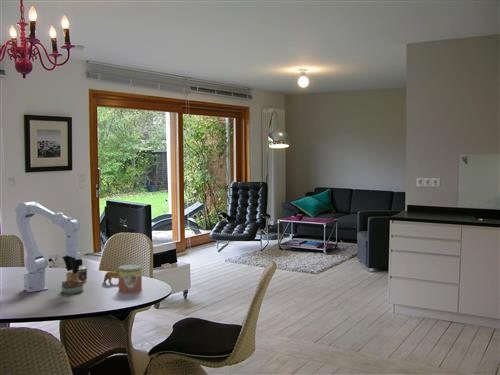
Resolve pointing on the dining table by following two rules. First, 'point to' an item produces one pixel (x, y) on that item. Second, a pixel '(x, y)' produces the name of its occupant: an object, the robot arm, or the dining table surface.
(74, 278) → the block
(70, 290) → the pale green domed part
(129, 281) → the canned food
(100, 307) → the dining table surface
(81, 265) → the medicine bottle
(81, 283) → the brown wooden rectangular frame
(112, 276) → the lion figurine
